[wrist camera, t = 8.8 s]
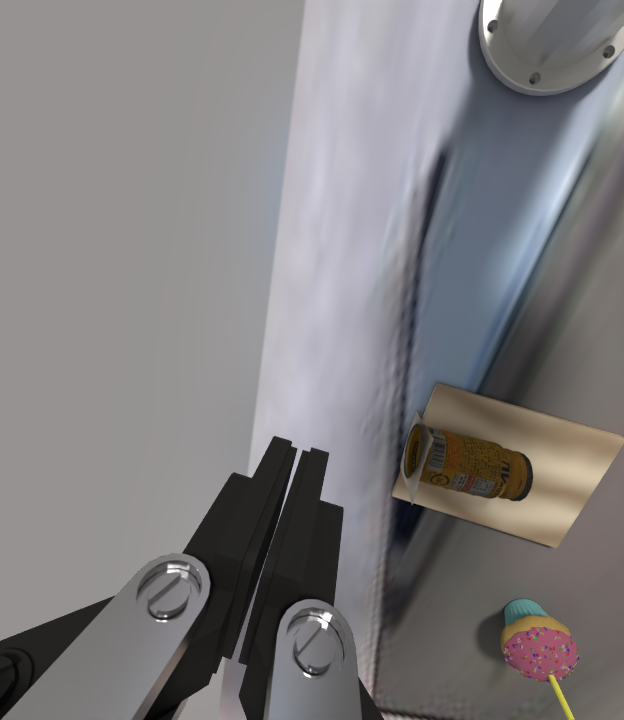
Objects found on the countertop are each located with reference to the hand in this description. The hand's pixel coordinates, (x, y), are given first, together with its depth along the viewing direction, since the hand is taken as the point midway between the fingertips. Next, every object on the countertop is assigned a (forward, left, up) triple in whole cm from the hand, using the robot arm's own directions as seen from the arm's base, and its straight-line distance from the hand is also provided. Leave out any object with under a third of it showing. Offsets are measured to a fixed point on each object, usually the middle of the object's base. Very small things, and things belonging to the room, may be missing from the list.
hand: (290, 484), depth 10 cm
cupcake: (+32, +35, -30) cm, 56 cm away
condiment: (+11, +11, -25) cm, 30 cm away
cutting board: (+12, +23, -30) cm, 39 cm away
